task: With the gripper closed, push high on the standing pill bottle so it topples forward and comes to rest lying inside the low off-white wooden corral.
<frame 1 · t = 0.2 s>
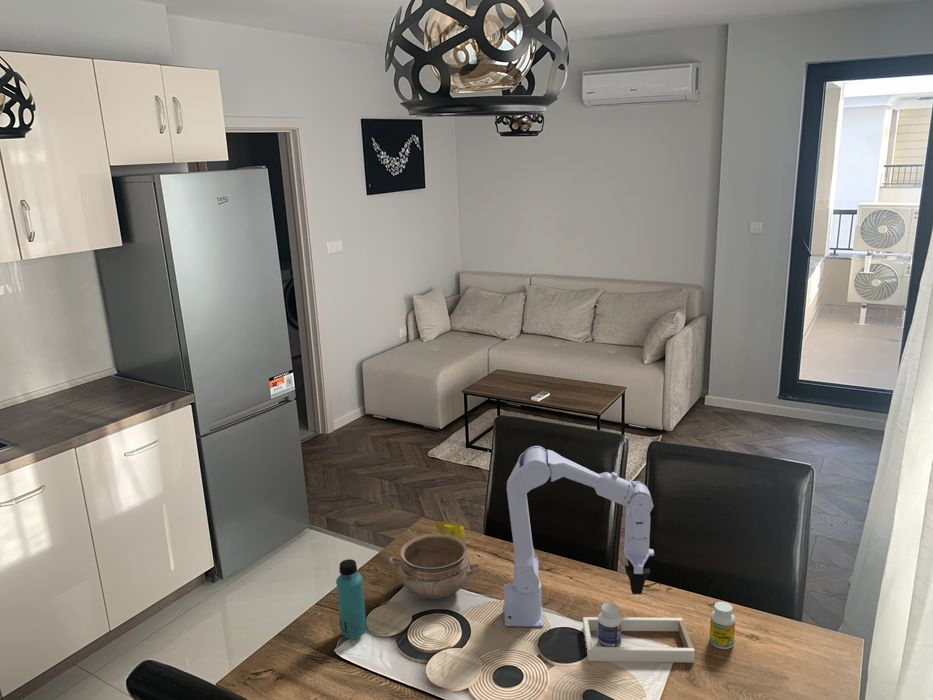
hand: (635, 584, 171), 10 cm above the table, fingers open, 7 cm apart
supplement bottle: (721, 643, 164), on the table
cooking pot: (435, 591, 188), on the table
crayon box: (452, 558, 204), on the table
beverage bottle: (354, 636, 171), on the table
pill bottle: (609, 645, 165), resting in corral
corral: (636, 644, 165), on the table
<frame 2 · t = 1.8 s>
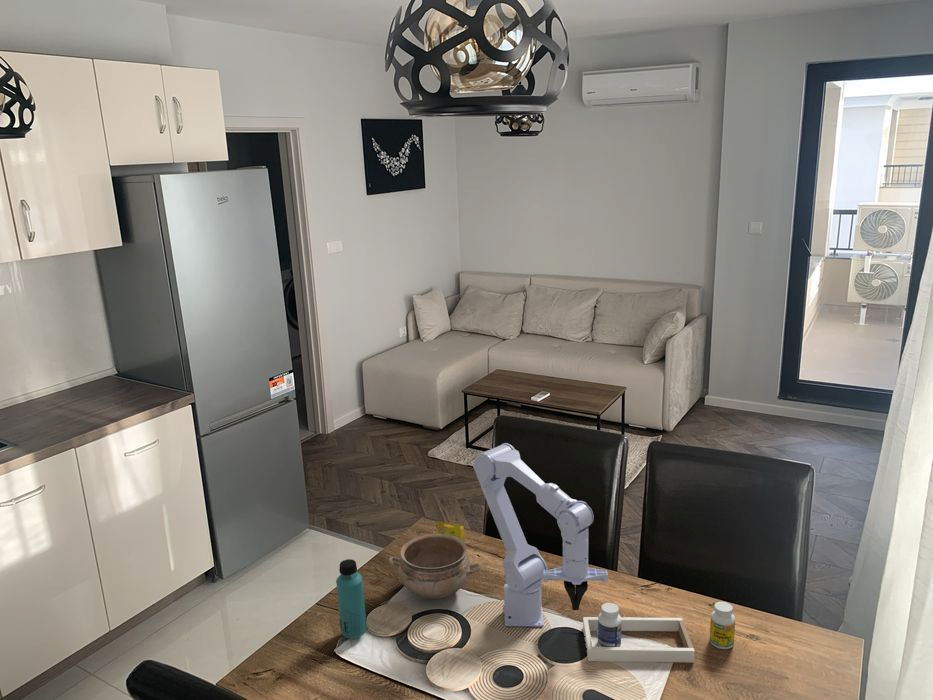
hand: (575, 607, 163), 10 cm above the table, fingers closed
nothing on the table moved.
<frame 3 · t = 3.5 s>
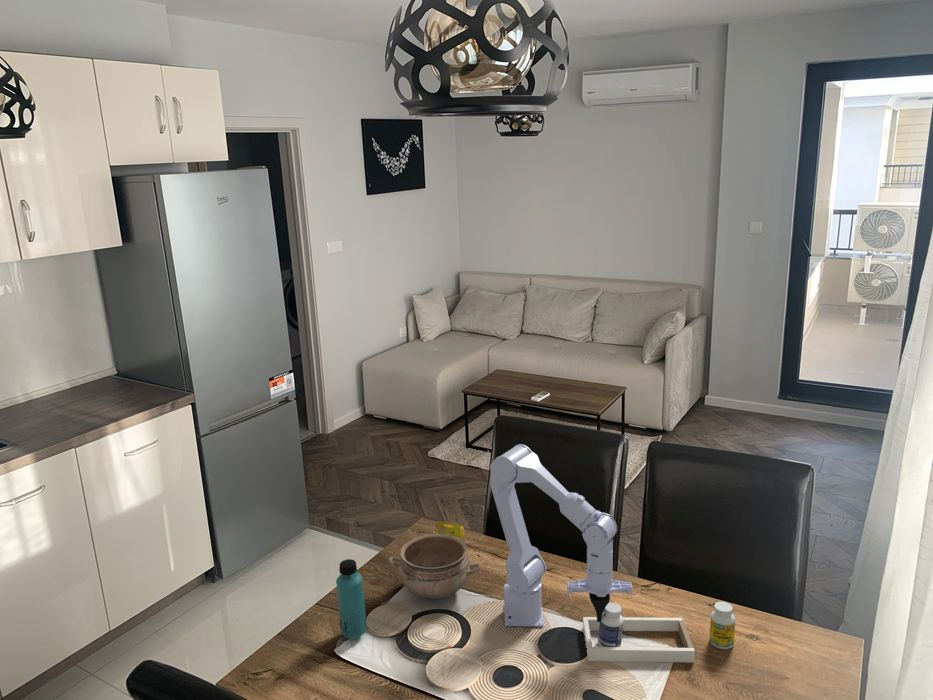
hand: (599, 619, 163), 7 cm above the table, fingers closed, pressing on pill bottle
pill bottle: (609, 644, 165), resting in corral, touching gripper
everything else where it was.
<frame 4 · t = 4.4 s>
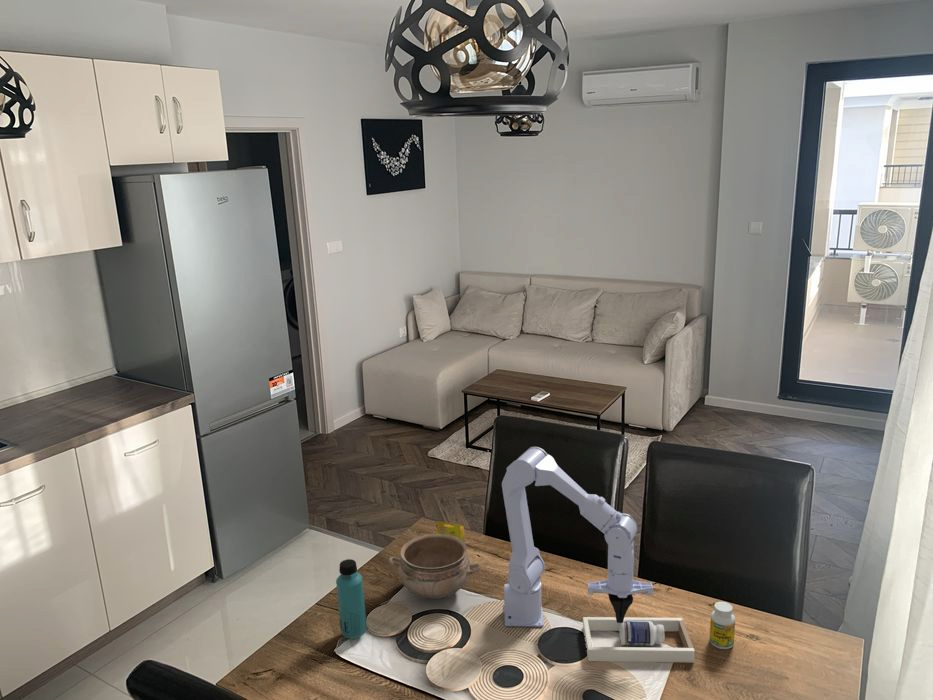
hand: (619, 620, 163), 6 cm above the table, fingers closed
pill bottle: (619, 632, 165), point 3 cm above the table
everything else where it was.
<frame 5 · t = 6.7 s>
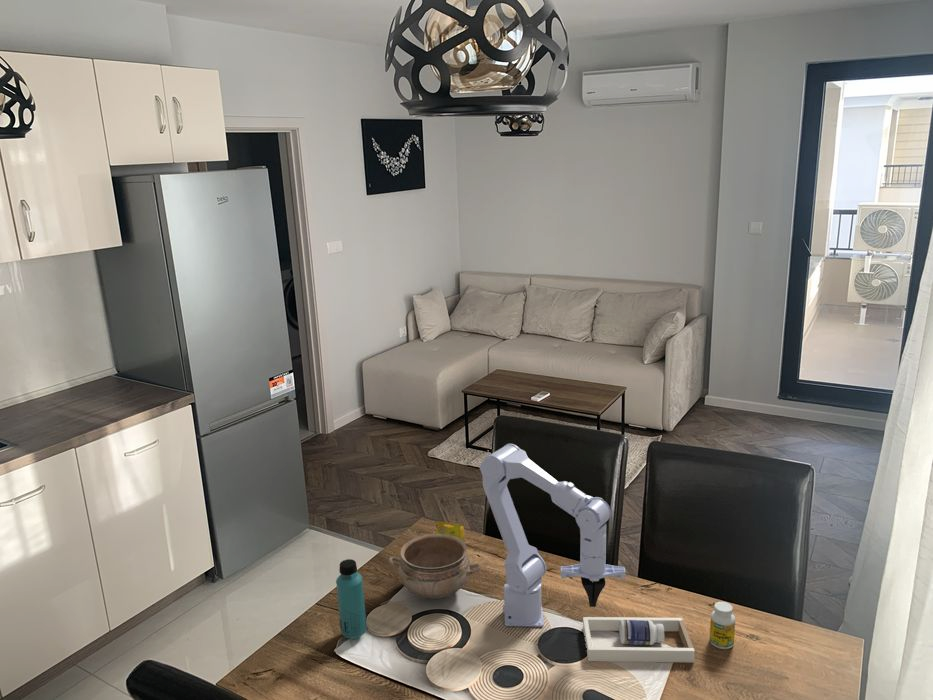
hand: (592, 604, 163), 10 cm above the table, fingers closed
nothing on the table moved.
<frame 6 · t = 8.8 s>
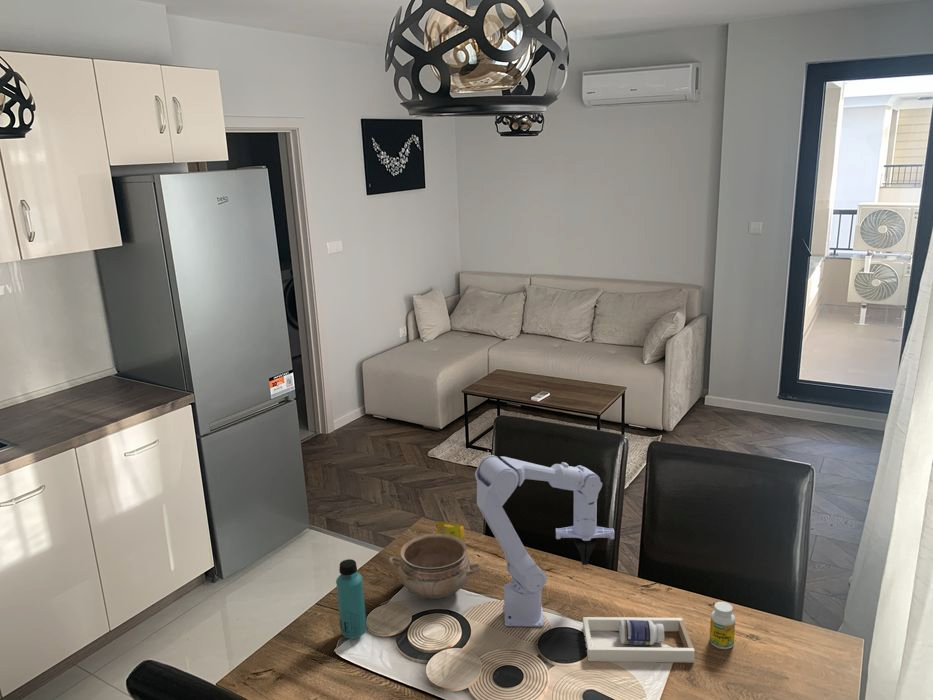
hand: (584, 562, 180), 10 cm above the table, fingers closed
nothing on the table moved.
at the end: pill bottle tilted 90°; pill bottle inside the target area (4.1 cm from its centre), point 2.7 cm above the table; the gripper is holding nothing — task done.
